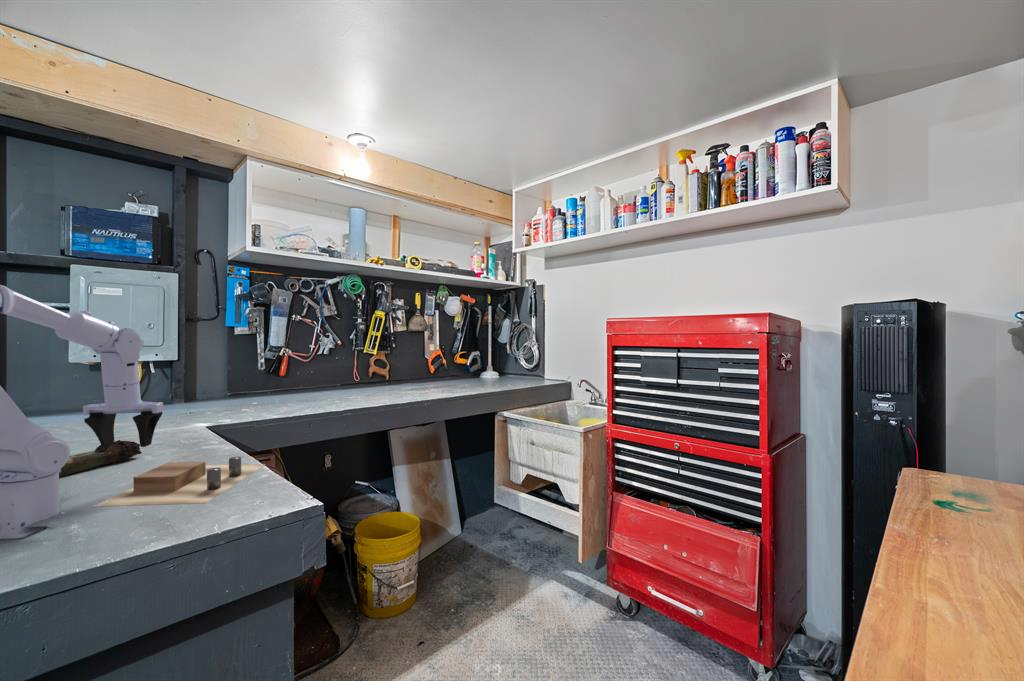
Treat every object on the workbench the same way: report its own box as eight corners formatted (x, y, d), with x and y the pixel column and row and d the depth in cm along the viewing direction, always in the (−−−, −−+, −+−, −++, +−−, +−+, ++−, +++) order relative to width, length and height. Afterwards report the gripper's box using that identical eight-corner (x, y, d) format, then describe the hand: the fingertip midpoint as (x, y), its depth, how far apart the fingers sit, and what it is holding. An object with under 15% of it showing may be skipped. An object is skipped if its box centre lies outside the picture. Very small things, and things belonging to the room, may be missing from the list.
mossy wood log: (56, 480, 99) (55, 456, 99) (40, 477, 101) (39, 453, 101) (144, 458, 116) (143, 438, 116) (128, 456, 118) (128, 436, 118)
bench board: (205, 510, 82) (205, 482, 82) (92, 514, 80) (92, 485, 80) (265, 470, 106) (265, 448, 106) (180, 472, 104) (179, 449, 104)
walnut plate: (175, 490, 88) (175, 476, 88) (133, 492, 88) (133, 477, 87) (205, 474, 98) (205, 461, 98) (168, 475, 97) (168, 462, 97)
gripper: (171, 379, 96) (175, 438, 97) (101, 381, 94) (106, 441, 96) (147, 386, 89) (152, 449, 90) (71, 387, 87) (77, 452, 89)
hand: (127, 446), depth 92 cm, fingers open, 7 cm apart
